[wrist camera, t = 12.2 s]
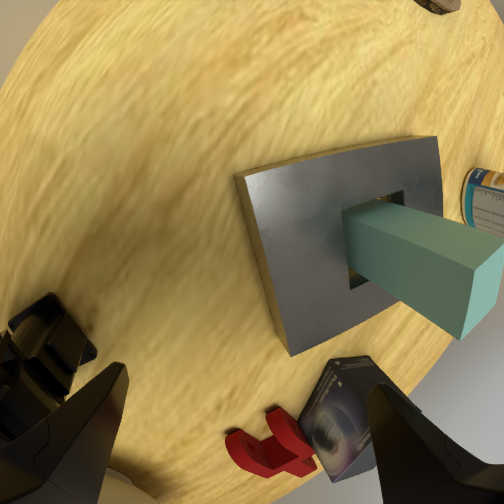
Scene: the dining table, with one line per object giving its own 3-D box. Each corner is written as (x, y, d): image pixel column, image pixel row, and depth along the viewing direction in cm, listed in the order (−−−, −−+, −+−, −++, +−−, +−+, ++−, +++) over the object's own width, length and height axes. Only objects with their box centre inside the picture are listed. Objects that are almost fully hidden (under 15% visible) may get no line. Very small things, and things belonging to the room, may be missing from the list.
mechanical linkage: (220, 429, 26) (231, 464, 21) (274, 400, 26) (292, 433, 22) (280, 462, 33) (292, 486, 28) (320, 440, 33) (335, 463, 28)
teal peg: (339, 261, 23) (459, 341, 11) (331, 212, 21) (474, 270, 9) (377, 244, 23) (495, 304, 12) (372, 198, 22) (507, 239, 10)
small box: (325, 357, 26) (384, 427, 17) (369, 353, 28) (426, 409, 19) (293, 422, 29) (330, 486, 19) (335, 414, 31) (374, 469, 21)
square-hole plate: (277, 336, 23) (290, 357, 20) (233, 174, 18) (244, 176, 15) (421, 264, 26) (440, 273, 24) (413, 135, 21) (436, 136, 18)
